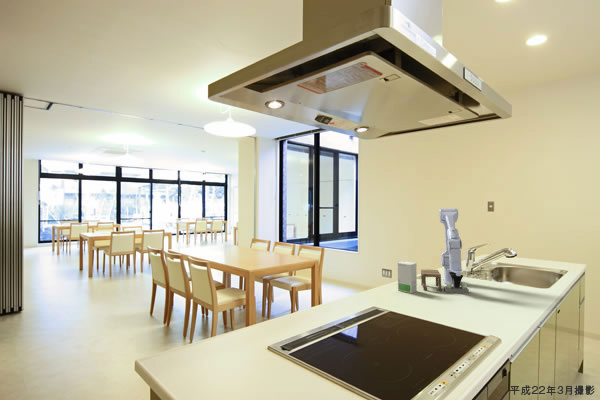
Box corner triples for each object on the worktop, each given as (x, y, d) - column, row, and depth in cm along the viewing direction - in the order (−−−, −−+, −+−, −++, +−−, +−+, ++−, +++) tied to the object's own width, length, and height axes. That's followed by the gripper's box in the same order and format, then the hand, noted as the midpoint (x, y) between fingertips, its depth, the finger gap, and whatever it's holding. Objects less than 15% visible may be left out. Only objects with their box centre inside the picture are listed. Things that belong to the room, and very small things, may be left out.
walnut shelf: (421, 284, 186) (420, 269, 186) (438, 285, 183) (437, 269, 184) (423, 290, 174) (423, 274, 174) (441, 291, 172) (440, 274, 172)
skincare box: (397, 290, 175) (396, 262, 176) (403, 288, 180) (402, 260, 180) (411, 293, 169) (410, 264, 169) (417, 291, 174) (416, 262, 174)
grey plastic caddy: (444, 289, 174) (444, 278, 174) (467, 290, 170) (466, 278, 171) (446, 292, 169) (445, 280, 169) (469, 293, 166) (468, 281, 166)
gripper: (444, 258, 178) (445, 282, 178) (449, 263, 164) (450, 289, 164) (458, 258, 176) (459, 283, 176) (464, 263, 162) (465, 290, 162)
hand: (456, 286), depth 170 cm, fingers closed on grey plastic caddy, 4 cm apart
